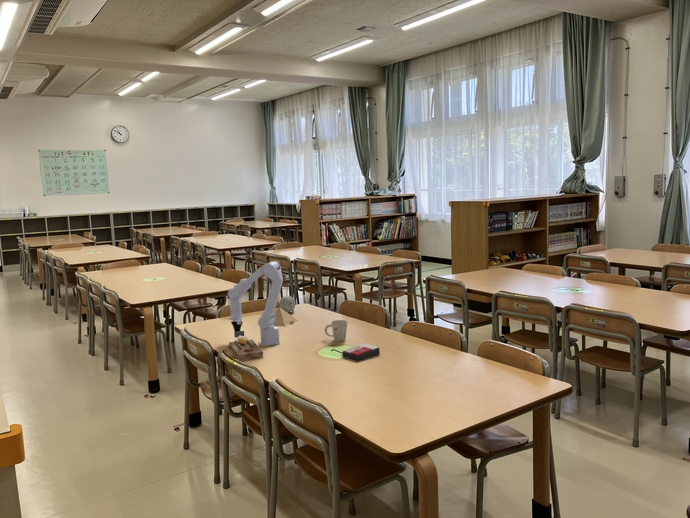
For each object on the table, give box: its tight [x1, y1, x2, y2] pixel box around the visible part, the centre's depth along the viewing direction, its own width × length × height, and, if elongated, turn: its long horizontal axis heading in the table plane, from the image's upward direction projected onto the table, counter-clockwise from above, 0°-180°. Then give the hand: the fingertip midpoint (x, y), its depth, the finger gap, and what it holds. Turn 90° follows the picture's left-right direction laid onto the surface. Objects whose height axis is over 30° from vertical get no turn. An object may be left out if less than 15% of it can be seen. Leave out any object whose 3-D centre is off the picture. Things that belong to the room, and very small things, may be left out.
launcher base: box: [228, 337, 264, 362], centre depth 273 cm, size 12×24×4 cm, turn 22°
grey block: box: [233, 330, 247, 343], centre depth 283 cm, size 5×8×4 cm, turn 22°
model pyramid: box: [273, 307, 299, 328], centre depth 332 cm, size 17×17×10 cm
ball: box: [240, 337, 248, 345], centre depth 277 cm, size 4×4×4 cm
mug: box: [324, 319, 348, 342], centre depth 291 cm, size 8×13×10 cm, turn 78°
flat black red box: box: [341, 343, 380, 362], centre depth 264 cm, size 11×4×15 cm
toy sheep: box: [279, 295, 297, 314], centre depth 358 cm, size 11×17×11 cm, turn 34°
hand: (237, 334), depth 291 cm, fingers closed
